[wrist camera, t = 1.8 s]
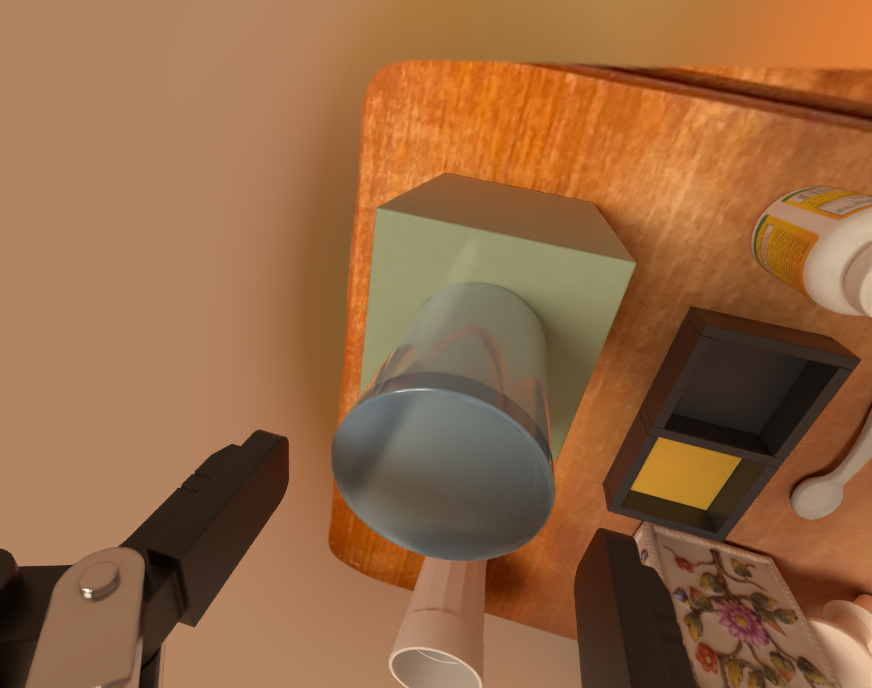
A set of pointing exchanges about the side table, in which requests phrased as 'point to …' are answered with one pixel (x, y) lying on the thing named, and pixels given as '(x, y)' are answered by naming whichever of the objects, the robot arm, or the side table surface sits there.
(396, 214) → the shelf
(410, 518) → the blue grey cylinder
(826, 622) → the beige rounded piece
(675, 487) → the tray
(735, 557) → the decorative jar
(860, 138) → the side table surface
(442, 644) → the cup
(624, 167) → the side table surface
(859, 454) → the spoon
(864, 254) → the supplement bottle
